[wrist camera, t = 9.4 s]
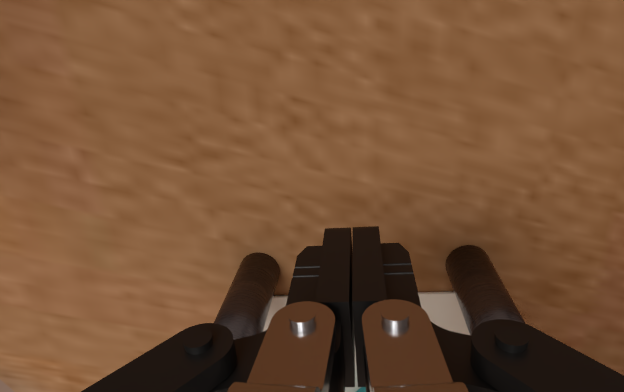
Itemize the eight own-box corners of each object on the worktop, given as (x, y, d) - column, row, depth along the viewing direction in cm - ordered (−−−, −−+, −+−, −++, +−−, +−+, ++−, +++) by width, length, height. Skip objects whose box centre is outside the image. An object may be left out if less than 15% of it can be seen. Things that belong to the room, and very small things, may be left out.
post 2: (490, 244, 27) (551, 347, 18) (487, 281, 28) (544, 394, 19) (446, 246, 27) (486, 348, 19) (445, 282, 28) (483, 394, 20)
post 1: (277, 252, 28) (244, 350, 20) (281, 286, 29) (252, 394, 21) (237, 253, 29) (189, 350, 20) (243, 287, 29) (199, 394, 21)
